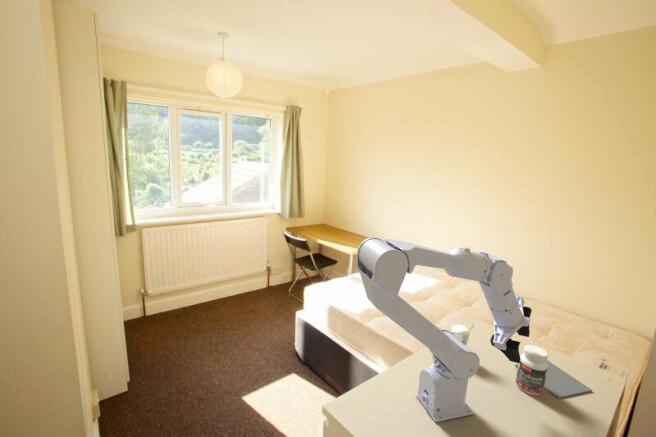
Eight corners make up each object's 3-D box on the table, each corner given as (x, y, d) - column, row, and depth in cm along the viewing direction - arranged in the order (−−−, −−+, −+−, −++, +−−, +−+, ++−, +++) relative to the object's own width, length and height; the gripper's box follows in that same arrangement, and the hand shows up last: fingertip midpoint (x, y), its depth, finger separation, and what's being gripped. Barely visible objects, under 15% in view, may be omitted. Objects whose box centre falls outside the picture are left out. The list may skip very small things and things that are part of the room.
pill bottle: (514, 389, 75) (521, 352, 73) (515, 376, 80) (521, 340, 78) (543, 400, 72) (551, 361, 70) (542, 385, 77) (549, 348, 75)
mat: (557, 398, 73) (558, 397, 73) (514, 365, 84) (515, 364, 84) (591, 391, 75) (592, 389, 75) (545, 360, 87) (545, 359, 87)
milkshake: (471, 364, 84) (475, 329, 82) (450, 360, 85) (454, 326, 83) (467, 353, 88) (471, 321, 87) (447, 351, 89) (451, 318, 88)
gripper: (512, 331, 61) (531, 379, 65) (532, 282, 69) (547, 327, 73) (476, 324, 67) (495, 369, 71) (498, 279, 75) (514, 322, 79)
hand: (519, 347), depth 72 cm, fingers open, 7 cm apart
